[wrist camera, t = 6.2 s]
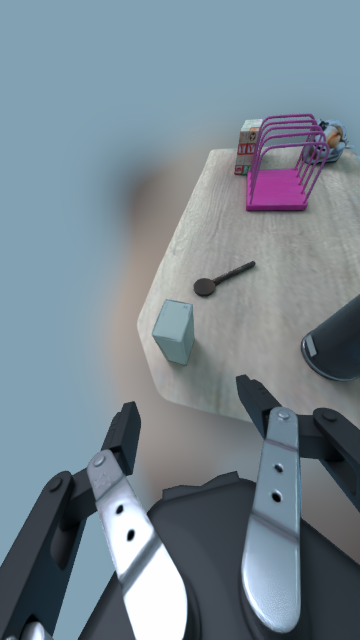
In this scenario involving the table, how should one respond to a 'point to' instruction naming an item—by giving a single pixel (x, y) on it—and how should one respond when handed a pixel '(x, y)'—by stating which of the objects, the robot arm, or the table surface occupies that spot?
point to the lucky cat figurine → (328, 141)
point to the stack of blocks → (247, 146)
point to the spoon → (216, 281)
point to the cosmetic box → (175, 331)
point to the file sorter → (283, 170)
